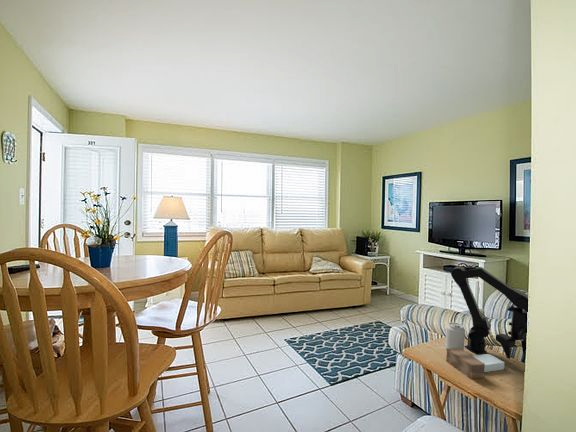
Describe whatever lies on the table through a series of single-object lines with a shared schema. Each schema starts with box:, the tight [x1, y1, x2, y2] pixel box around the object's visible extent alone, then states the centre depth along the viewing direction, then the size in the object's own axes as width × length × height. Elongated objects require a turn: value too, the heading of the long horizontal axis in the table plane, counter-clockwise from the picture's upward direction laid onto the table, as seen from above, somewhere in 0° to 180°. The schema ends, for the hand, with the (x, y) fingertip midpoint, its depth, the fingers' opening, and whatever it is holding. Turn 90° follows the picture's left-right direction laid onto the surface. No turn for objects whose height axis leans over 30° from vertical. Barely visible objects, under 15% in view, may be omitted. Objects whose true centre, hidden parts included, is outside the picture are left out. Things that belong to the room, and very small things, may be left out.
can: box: [444, 321, 466, 351], centre depth 140 cm, size 8×8×12 cm
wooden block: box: [445, 347, 485, 380], centre depth 125 cm, size 13×6×6 cm, turn 14°
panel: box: [472, 353, 505, 373], centre depth 128 cm, size 7×12×3 cm, turn 104°
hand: (516, 357), depth 132 cm, fingers open, 9 cm apart
